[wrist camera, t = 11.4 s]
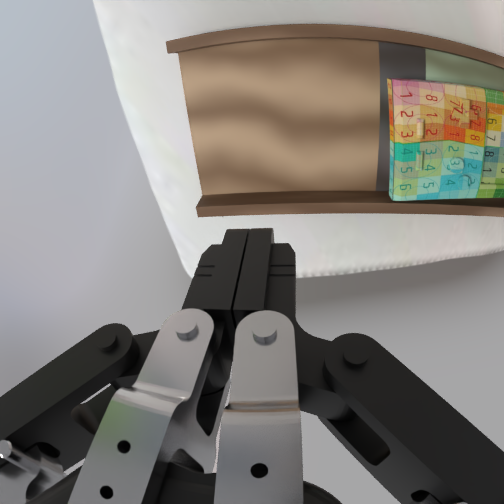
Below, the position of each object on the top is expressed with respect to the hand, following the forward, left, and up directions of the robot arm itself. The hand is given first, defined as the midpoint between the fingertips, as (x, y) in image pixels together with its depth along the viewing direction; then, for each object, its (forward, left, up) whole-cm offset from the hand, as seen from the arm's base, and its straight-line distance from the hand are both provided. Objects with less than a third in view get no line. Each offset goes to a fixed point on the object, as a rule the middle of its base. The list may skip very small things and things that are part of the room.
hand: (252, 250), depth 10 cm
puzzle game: (+1, +21, -22) cm, 30 cm away
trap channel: (0, +11, -22) cm, 24 cm away
